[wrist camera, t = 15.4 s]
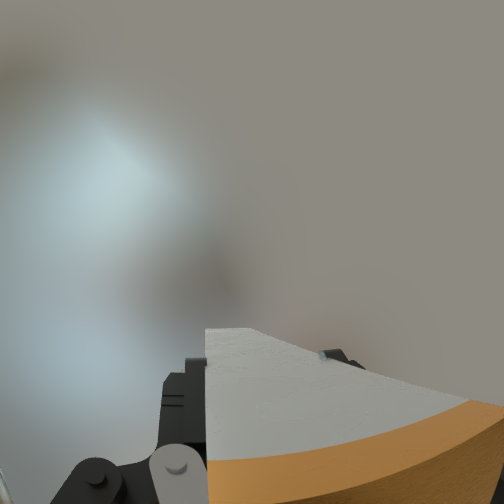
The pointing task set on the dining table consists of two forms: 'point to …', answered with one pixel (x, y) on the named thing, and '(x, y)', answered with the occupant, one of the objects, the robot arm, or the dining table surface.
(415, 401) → the bar
